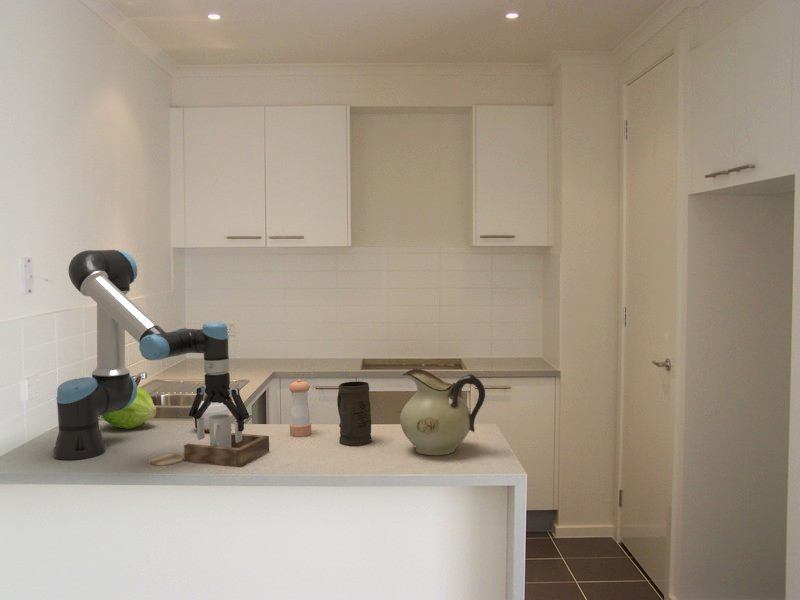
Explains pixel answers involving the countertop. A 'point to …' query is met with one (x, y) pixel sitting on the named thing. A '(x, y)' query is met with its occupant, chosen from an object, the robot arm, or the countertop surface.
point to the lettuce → (133, 412)
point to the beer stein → (354, 413)
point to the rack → (229, 451)
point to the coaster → (166, 459)
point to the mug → (220, 430)
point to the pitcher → (438, 413)
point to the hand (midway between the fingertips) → (219, 440)
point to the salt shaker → (300, 409)
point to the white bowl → (212, 412)
